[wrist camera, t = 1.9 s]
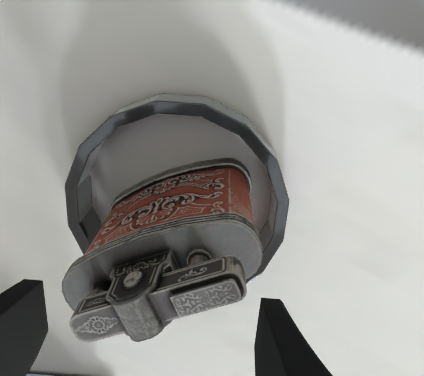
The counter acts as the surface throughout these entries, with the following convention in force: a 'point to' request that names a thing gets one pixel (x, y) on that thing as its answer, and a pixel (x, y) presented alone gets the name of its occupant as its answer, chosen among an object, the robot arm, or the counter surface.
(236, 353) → the counter surface
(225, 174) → the lighter
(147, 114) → the dark grey ring
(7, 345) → the robot arm
